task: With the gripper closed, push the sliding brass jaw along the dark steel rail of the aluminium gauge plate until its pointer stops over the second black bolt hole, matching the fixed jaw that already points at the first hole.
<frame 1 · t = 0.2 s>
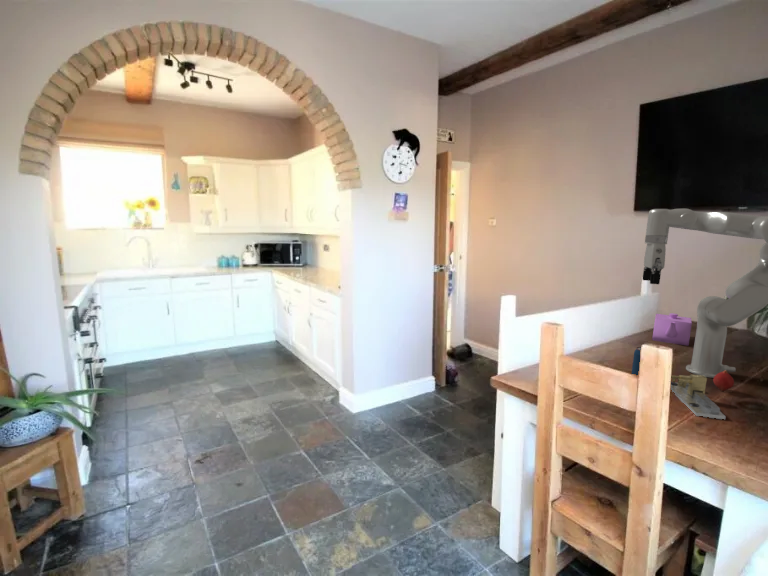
hand: (650, 282, 167), 36 cm above the table, tool pointing down, fingers open, 9 cm apart
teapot: (669, 340, 211), on the table
sliding jaw: (691, 384, 142), point 5 cm above the table, slide at 0.0 cm
soda can: (641, 378, 160), on the table
onion: (721, 391, 150), on the table
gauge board: (692, 400, 141), on the table
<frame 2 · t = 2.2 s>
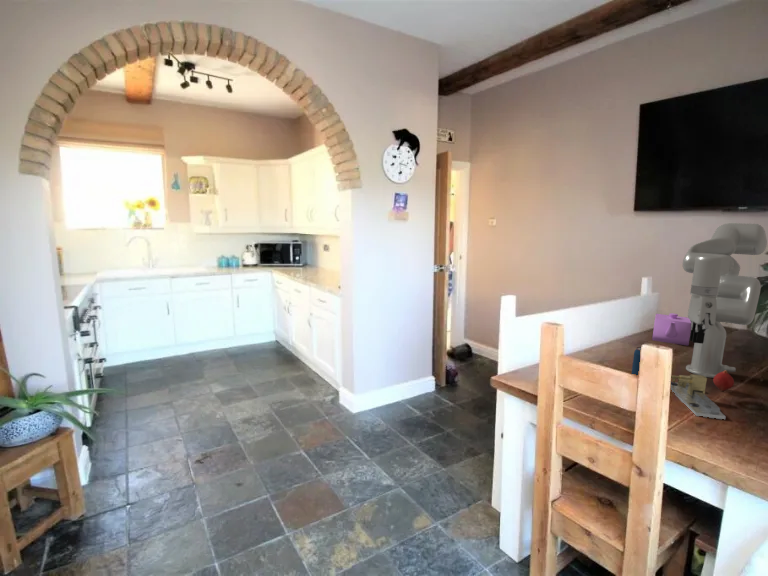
hand: (696, 341, 145), 19 cm above the table, tool pointing down, fingers closed
nothing on the table moved.
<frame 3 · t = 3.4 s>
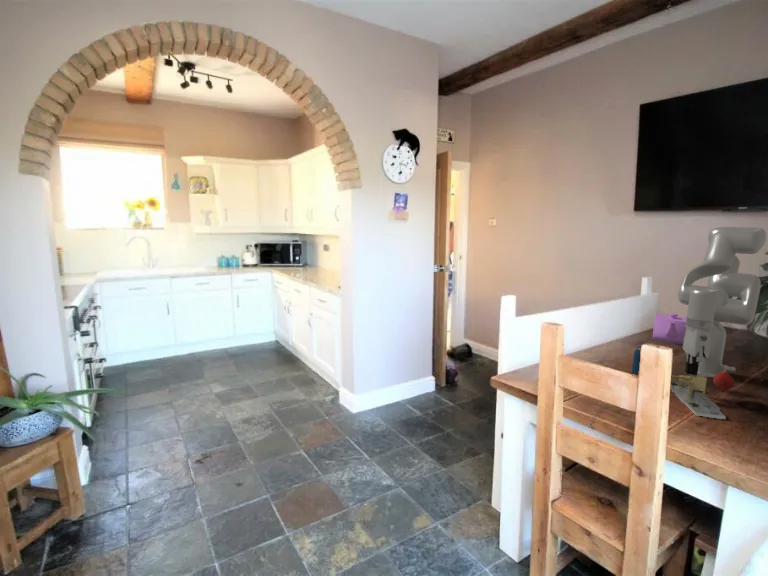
hand: (690, 373, 146), 7 cm above the table, tool pointing down, fingers closed
nothing on the table moved.
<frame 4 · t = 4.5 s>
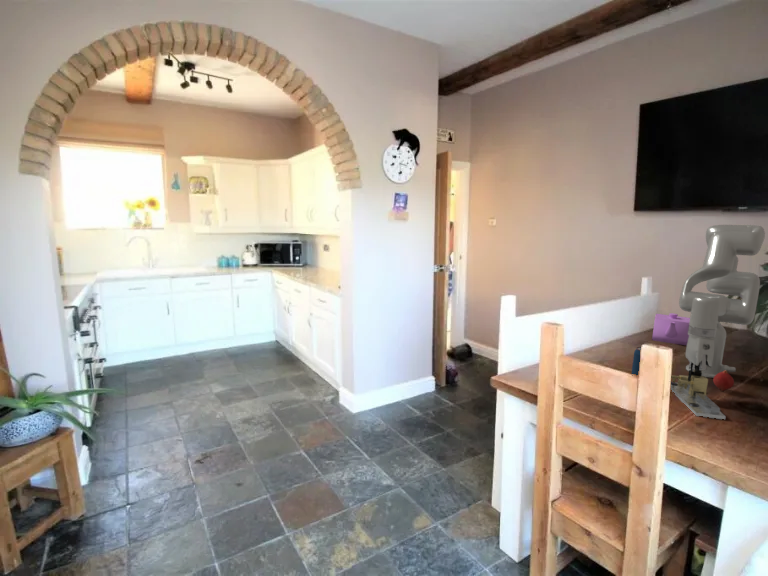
hand: (693, 381, 144), 5 cm above the table, tool pointing down, fingers closed
sliding jaw: (692, 385, 142), point 5 cm above the table, slide at 1.0 cm, touching gripper
everything else where it was.
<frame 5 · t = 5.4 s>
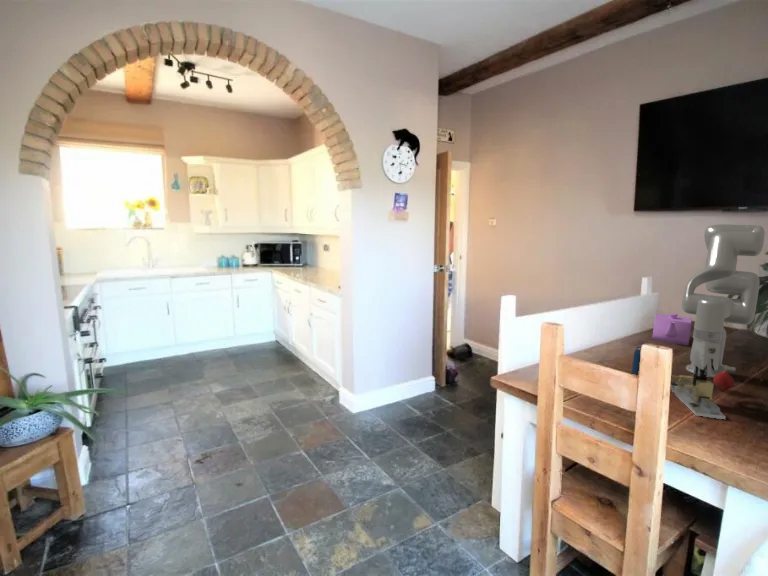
hand: (698, 386, 140), 5 cm above the table, tool pointing down, fingers closed
sliding jaw: (697, 390, 138), point 5 cm above the table, slide at 5.0 cm, touching gripper
everything else where it was.
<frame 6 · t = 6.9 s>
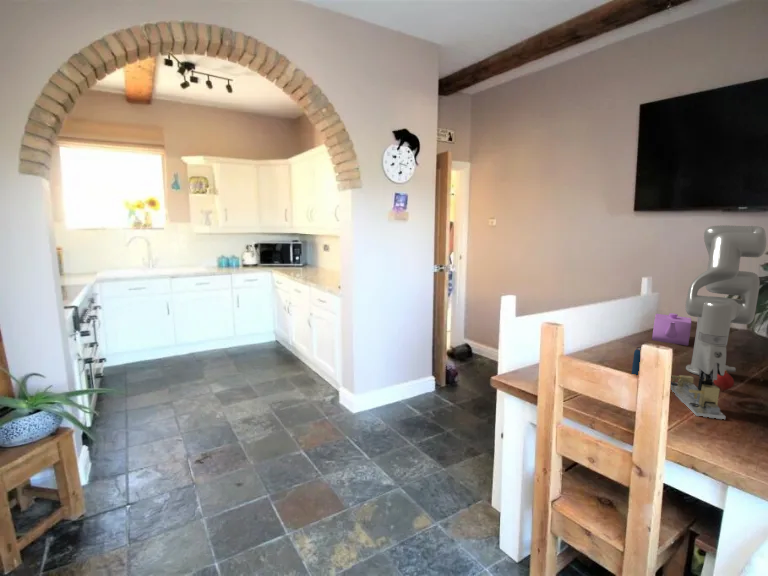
hand: (704, 391, 137), 5 cm above the table, tool pointing down, fingers closed
sliding jaw: (702, 395, 134), point 5 cm above the table, slide at 9.0 cm, touching gripper
everything else where it was.
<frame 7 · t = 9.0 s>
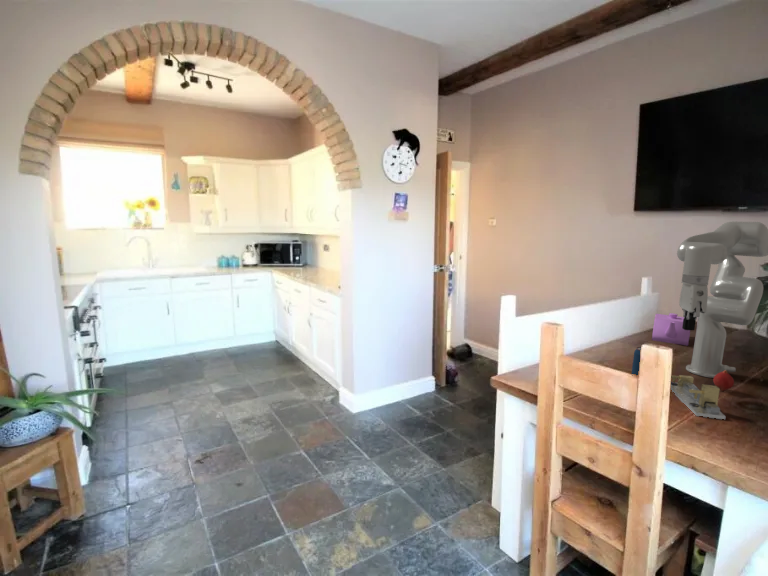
hand: (688, 329, 147), 23 cm above the table, tool pointing down, fingers closed
sliding jaw: (702, 395, 134), point 5 cm above the table, slide at 9.0 cm
everything else where it was.
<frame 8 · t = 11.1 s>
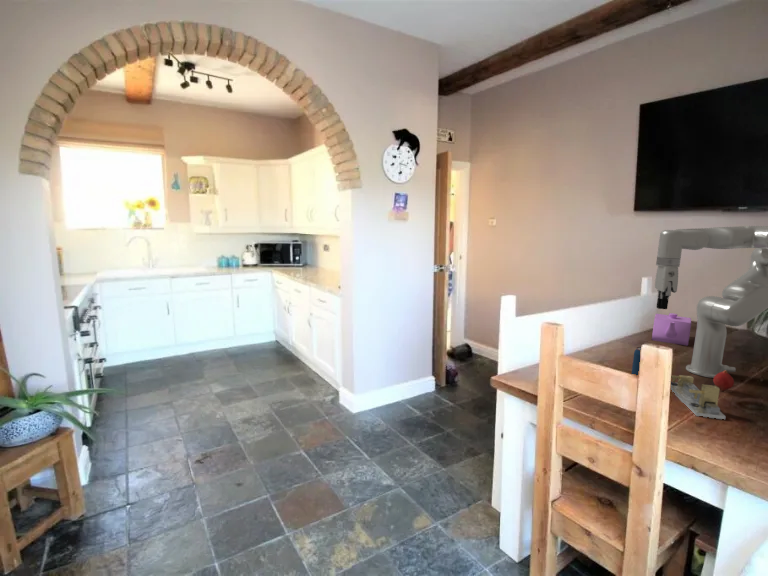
hand: (661, 308, 161), 27 cm above the table, tool pointing down, fingers closed
nothing on the table moved.
at the end: sliding jaw slide at 9.0 cm; sliding jaw touching nothing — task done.
